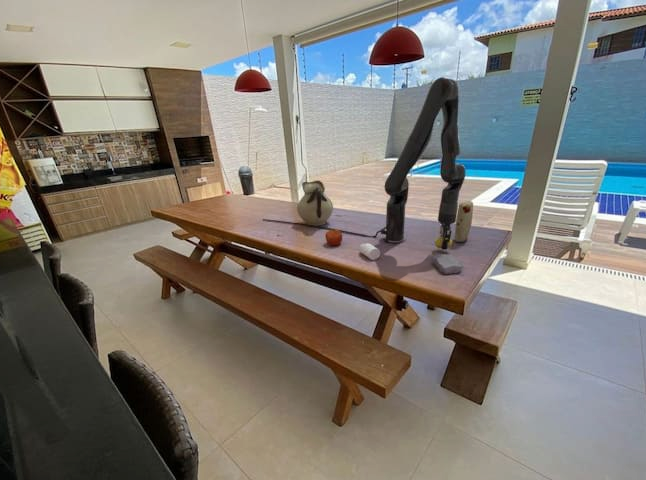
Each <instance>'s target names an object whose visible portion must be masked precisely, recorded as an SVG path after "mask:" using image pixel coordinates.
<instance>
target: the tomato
mask: <svg viewBox="0 0 646 480" xmlns="http://www.w3.org/2000/svg"><path fill="white" fill-rule="evenodd" d="M331 229H332V230H330V229H329V230H328V231H327V232H325V236H324V237H325V240H326V243H327V244H328V245H329V246H338V245H340V244H341V243H342V241H343V234H342V233H343V232H340V231H339V230H340V229H337V230H336V228H331ZM333 229H334V230H333Z"/></svg>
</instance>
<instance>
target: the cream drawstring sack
mask: <svg viewBox="0 0 646 480" xmlns="http://www.w3.org/2000/svg"><path fill="white" fill-rule="evenodd" d="M301 187H302V190H303V192H304V194H303V196H302V197H301V199H300V200H298V203H297V206H296V211H297V214H298V216H299V217H300V218H301V220H302V221H304V222H305V224H308V225H314V226H320V227H321V226H323V225H325V224H326V222H327V221H328V220H329V219H330V218H331V216H332V214H333V211H334V204H333V202H332V200H331V199H330V198H329V197H328V196H327V195H326V194H325V191H326V188H325V184H324V183H323V182H322V181H321V180H313V181H303V182H302V184H301Z"/></svg>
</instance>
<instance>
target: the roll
mask: <svg viewBox="0 0 646 480" xmlns="http://www.w3.org/2000/svg"><path fill="white" fill-rule="evenodd" d="M359 247H360V252H361V253H362V254H363V255H364V256H365V257H367V258H368V259H369V260H372V261H375V260H377V259H378V258H379V257H380V256H381V251H380V250H379V248H377V247H375V246H374V244H371V243H361V244H360V246H359Z"/></svg>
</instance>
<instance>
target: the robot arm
mask: <svg viewBox="0 0 646 480" xmlns="http://www.w3.org/2000/svg"><path fill="white" fill-rule="evenodd" d="M459 102H460V85H459V83H458V81H457V80H455V79H454V78H450V77H446V76H441V77H438V78H437V79H435V80H434V81H433V82H432V83H431V85H430V87H429V89H428V92H427V94H426V96H425V99H424V102H423V105H422V107H421V110H420V111H419V115H418V116H417V118H416V121H415V122H414V125H413V126H412V129H411V131H410V133H409V135H408V137H407V139H406V141H405V143H404V145H403V148H402V149H401V152H400V154H399V156H398V158H397V161H396V163H395V165H394V167H393V168H392V170H391V172H390V173H389V174H388V176H387V178H386V180H385V181H384V191H385V193H386V195H388V196H389V199H388V201H387V202H386V211H385V212H386V215H385V216H386V218H385V226H384V227H382V228H381V229H379V230H378V231H376V233H375V235H374V236H373V235H367V234H363V233H358V232H352V231H347V230H342V229H336V228H332V227H326V226H321V225H320V226H314V225H308V224H306V223H300V222H292V221H284V220H275V219H267V218H263V219H262V220H263V221H266V222H275V223H283V224H284V223H285V224H292V225H300V226H305V227H312V228H313V227H314V228H318V229H319V228H320V229H324V230H329V231H330V230H332V229H333V230H334V229H336V230H339V231H340V232H341V233H346V234H351V235H355V236H356V235H357V236H360V237H366V238H376V237H378V234H379V233H380V234H381V235H385V237H384V239H385V243H391V244H399V243H403V242H404V240H405V222H406V221H405V220H406V205H407V203H408V198H409V188H410V187H409V185H410V183H409V179H408V175H409V173H410V171H411V170H412V169H413V167H414V166H415V165H416V164H417V163H418V162H419V160H420V159H421V158H422V157H423V155H424V153H425V151H426V150H427V148H428V146H429V144H430V142H431V140H432V136H433V130H434V125H435V121H436V119H437V117H438V115H439V113H440V111H441V112H442V125H441V129H440V130H441V131H440V149H441V150H440V151H441V160H440V169H439V170H440V171H439V174H440V178H441V180H442V182H444V183H446V184H447V185H446V186H445V187H443V188H442V190H441V196H440V202H439V207H438V215H437V222H438V223H439V224H440V225H439V237H443V240H442V248H441V250H445V251H446V250H448V248H447V245H448V242H450V239H451V237H452V226H451V225H452V224H456V218H457V214H458V209H459V197H460V191H461V189H462V188H463V187H462V186H463V184H464V182H465V179H466V167H465V166H464V165H463V164H462V163H456V161H457V158H458V157H459V156H460V155H461V146H460V145H461V144H460V135H459V104H460V103H459ZM446 238H447V239H446Z"/></svg>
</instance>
